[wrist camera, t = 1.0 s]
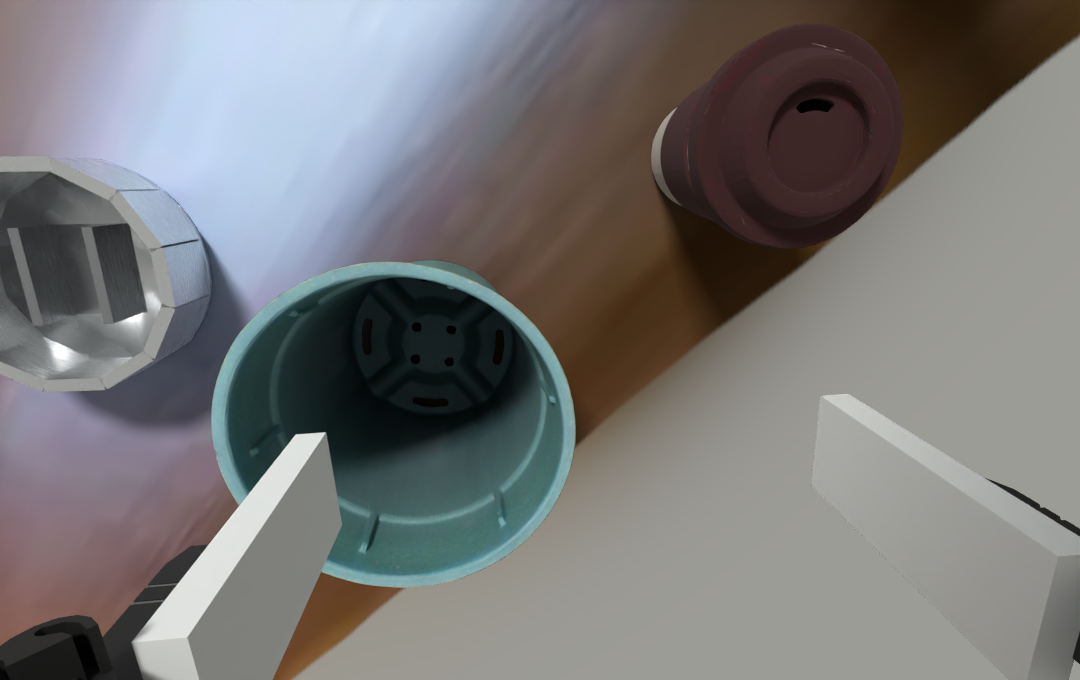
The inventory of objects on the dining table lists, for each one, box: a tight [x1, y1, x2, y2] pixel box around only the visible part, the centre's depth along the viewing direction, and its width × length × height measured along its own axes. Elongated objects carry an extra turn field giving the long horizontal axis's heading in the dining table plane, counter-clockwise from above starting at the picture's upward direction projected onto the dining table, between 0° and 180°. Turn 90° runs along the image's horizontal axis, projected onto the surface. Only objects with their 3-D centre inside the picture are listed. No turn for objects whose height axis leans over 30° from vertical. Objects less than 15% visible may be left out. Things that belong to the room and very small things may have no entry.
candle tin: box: [0, 156, 212, 392], centre depth 35 cm, size 14×14×5 cm
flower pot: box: [211, 260, 576, 587], centre depth 33 cm, size 16×16×16 cm
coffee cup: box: [651, 24, 903, 249], centre depth 31 cm, size 10×10×15 cm
